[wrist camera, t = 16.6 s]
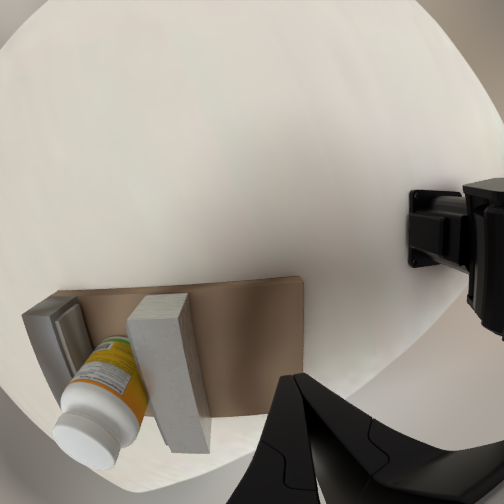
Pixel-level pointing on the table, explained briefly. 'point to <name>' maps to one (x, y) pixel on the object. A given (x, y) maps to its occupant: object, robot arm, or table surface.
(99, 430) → the supplement bottle
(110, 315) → the vise bed
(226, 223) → the table surface
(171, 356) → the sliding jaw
